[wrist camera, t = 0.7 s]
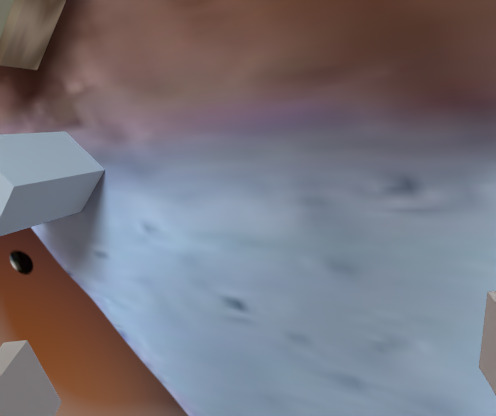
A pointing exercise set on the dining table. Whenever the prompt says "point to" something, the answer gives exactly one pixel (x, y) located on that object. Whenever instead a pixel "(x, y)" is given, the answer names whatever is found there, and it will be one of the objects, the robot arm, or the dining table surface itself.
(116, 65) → the dining table surface
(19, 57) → the base brick
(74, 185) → the tall brick
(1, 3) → the top brick
